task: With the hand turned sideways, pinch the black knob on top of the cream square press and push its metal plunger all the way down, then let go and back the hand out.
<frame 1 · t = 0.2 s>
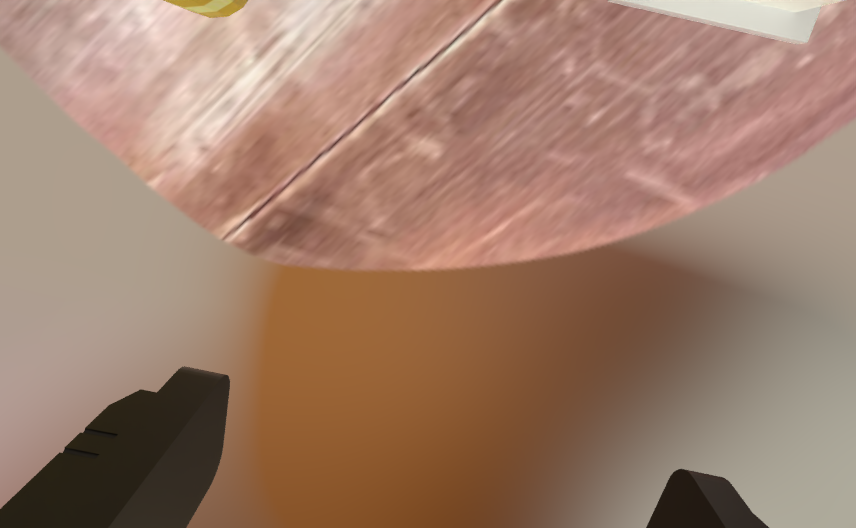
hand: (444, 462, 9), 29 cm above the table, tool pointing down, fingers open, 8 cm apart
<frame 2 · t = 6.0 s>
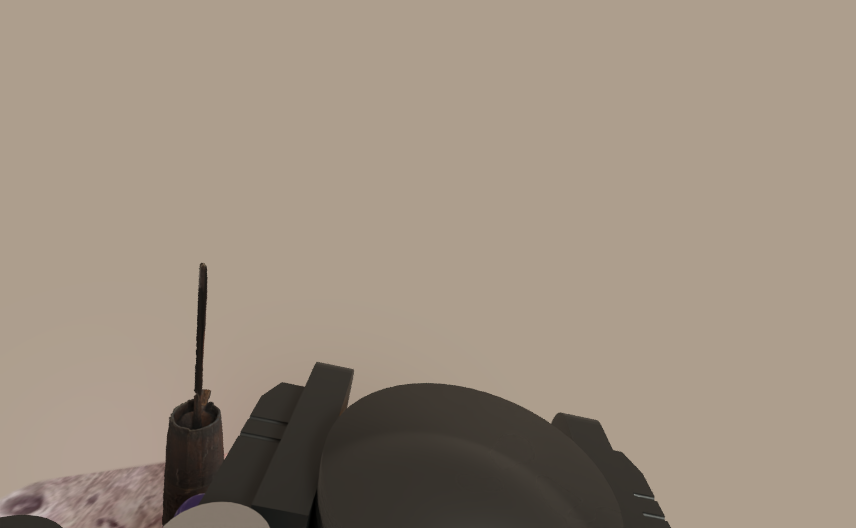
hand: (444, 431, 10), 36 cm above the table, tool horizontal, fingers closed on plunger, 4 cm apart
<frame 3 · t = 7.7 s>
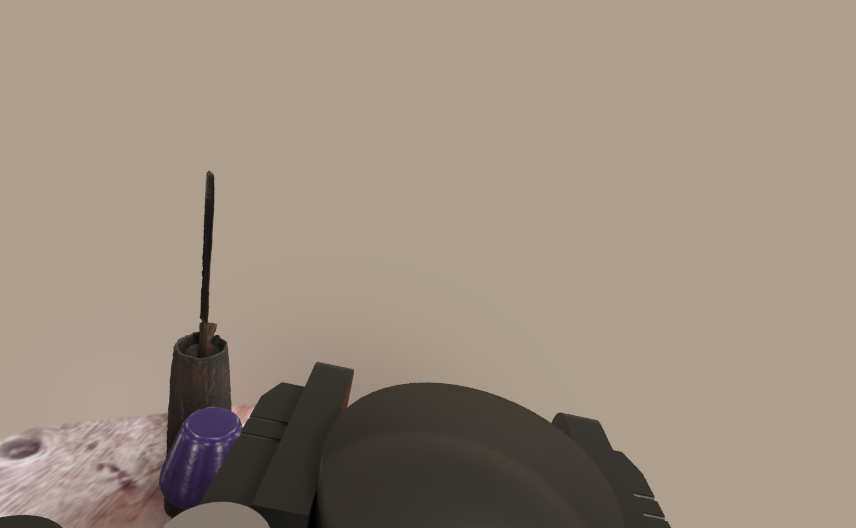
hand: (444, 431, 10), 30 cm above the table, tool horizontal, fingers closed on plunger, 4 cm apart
butter churn: (199, 490, 44), on the table
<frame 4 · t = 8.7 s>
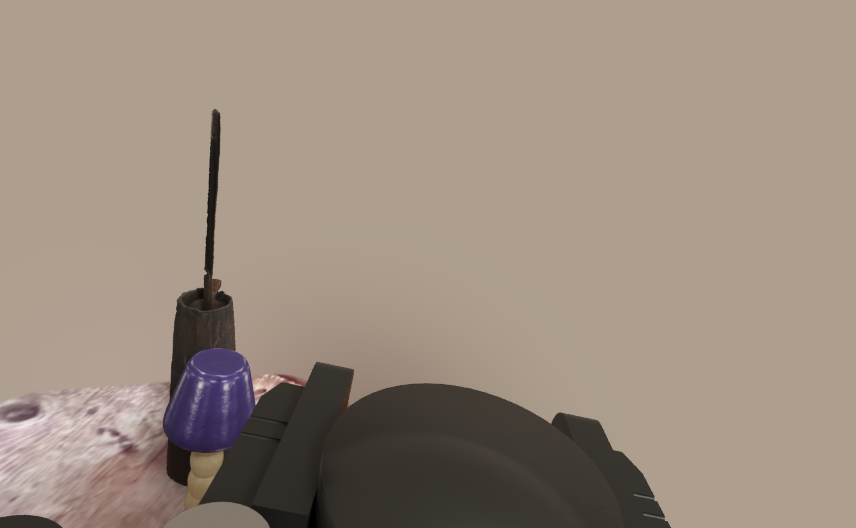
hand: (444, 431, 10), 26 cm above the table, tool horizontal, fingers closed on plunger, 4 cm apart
butter churn: (202, 455, 42), on the table
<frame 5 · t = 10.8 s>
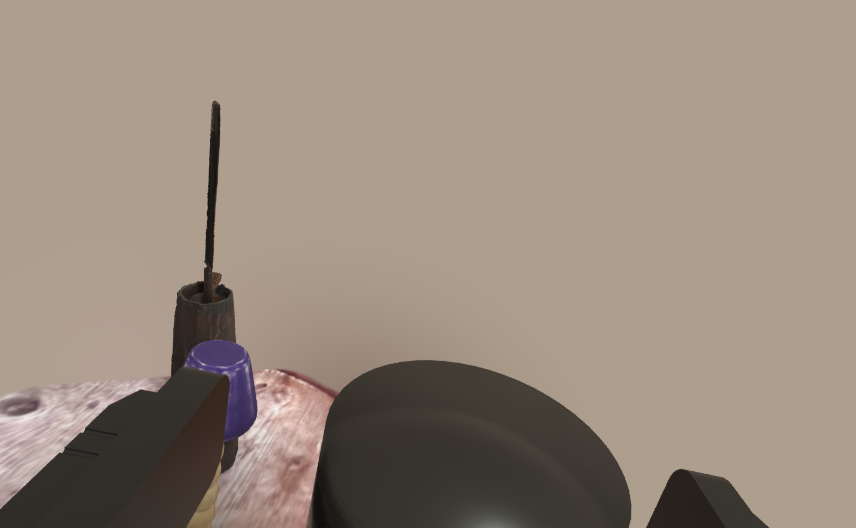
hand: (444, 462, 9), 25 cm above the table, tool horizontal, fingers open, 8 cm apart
butter churn: (203, 449, 42), on the table
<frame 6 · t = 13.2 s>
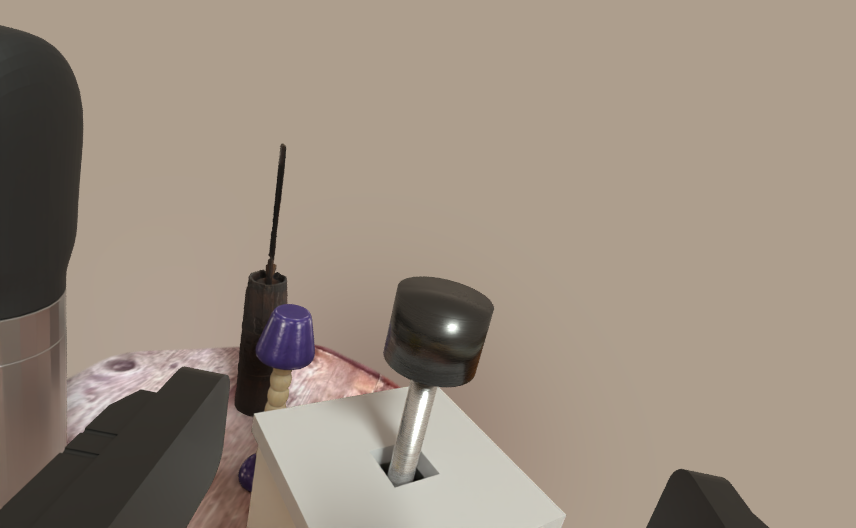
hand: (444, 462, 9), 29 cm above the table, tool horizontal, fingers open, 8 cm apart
butter churn: (259, 397, 56), on the table
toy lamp: (265, 480, 46), on the table
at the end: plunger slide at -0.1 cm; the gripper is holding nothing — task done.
